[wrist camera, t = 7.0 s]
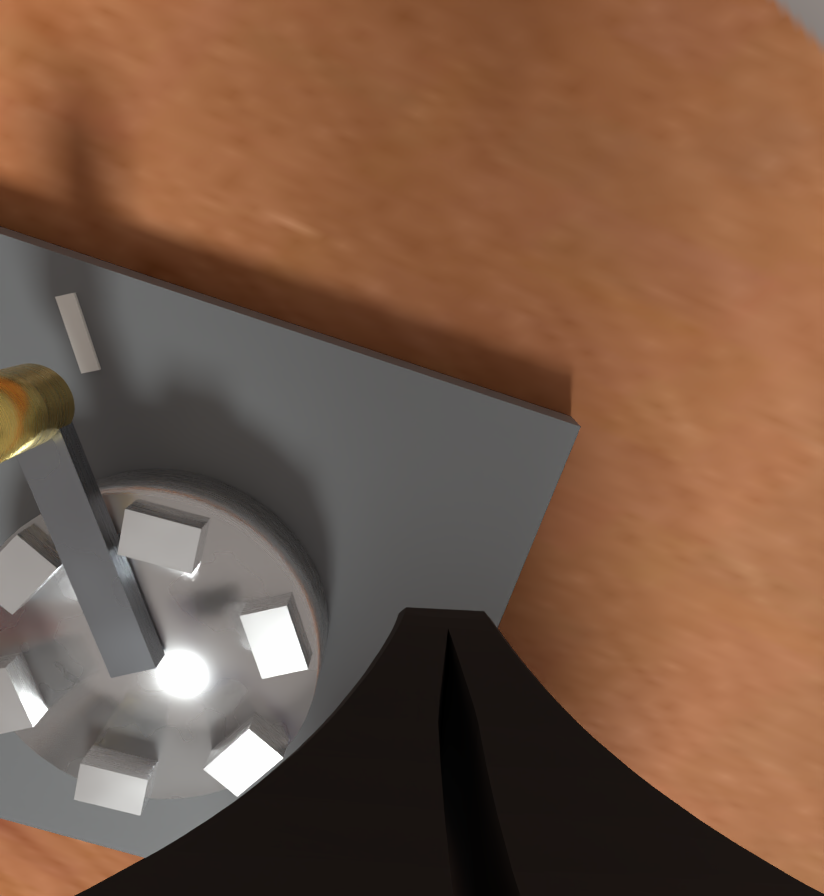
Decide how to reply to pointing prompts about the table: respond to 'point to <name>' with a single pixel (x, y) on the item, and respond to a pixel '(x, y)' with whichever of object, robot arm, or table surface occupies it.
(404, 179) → the table surface
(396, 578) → the base plate
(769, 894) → the robot arm
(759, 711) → the table surface
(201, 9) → the table surface
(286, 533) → the lathe jaw chuck
